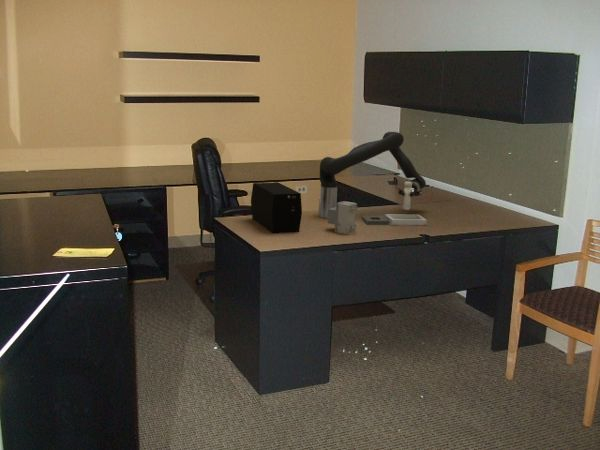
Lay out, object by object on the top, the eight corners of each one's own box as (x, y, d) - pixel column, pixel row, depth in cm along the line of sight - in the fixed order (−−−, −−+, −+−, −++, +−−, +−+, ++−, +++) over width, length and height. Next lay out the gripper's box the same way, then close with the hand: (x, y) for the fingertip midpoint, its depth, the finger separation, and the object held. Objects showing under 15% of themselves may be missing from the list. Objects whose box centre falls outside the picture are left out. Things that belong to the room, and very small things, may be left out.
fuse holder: (367, 224, 357) (367, 221, 356) (361, 219, 368) (361, 215, 368) (388, 224, 359) (388, 221, 358) (382, 219, 370) (382, 216, 370)
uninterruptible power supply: (278, 217, 365) (279, 182, 360) (302, 232, 335) (304, 193, 330) (250, 219, 358) (251, 183, 354) (272, 234, 328) (273, 195, 324)
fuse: (404, 209, 362) (406, 182, 358) (401, 208, 365) (403, 181, 362) (411, 209, 362) (413, 182, 359) (408, 208, 366) (410, 181, 362)
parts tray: (391, 225, 357) (392, 220, 357) (384, 219, 370) (385, 214, 370) (426, 225, 361) (426, 220, 360) (418, 219, 374) (418, 214, 373)
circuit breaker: (332, 227, 348) (333, 199, 345) (355, 231, 341) (357, 203, 337) (324, 229, 342) (325, 201, 339) (348, 234, 335) (350, 205, 331)
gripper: (400, 181, 376) (394, 186, 360) (425, 183, 372) (420, 188, 356) (399, 194, 378) (393, 200, 362) (423, 196, 374) (419, 202, 358)
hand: (406, 194), depth 359 cm, fingers closed on fuse, 3 cm apart
